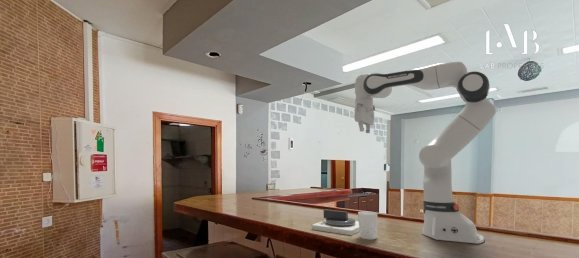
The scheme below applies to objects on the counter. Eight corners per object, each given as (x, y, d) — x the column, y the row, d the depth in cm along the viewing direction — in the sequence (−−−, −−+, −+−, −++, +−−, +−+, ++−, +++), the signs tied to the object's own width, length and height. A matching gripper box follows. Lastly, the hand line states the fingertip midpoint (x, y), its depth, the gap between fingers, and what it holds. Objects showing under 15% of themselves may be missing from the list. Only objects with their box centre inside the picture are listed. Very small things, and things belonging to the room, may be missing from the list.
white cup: (379, 236, 119) (378, 212, 120) (377, 240, 112) (376, 215, 113) (360, 234, 122) (359, 210, 123) (357, 238, 115) (356, 213, 116)
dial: (359, 222, 136) (359, 210, 137) (347, 227, 125) (347, 215, 125) (331, 218, 145) (331, 207, 146) (317, 223, 134) (317, 211, 134)
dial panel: (368, 226, 136) (368, 222, 137) (351, 235, 120) (351, 230, 121) (331, 221, 148) (331, 217, 148) (311, 229, 132) (311, 224, 132)
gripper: (363, 101, 135) (364, 129, 133) (375, 108, 152) (376, 133, 150) (350, 102, 138) (351, 130, 137) (364, 109, 155) (365, 134, 154)
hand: (364, 132), depth 144 cm, fingers open, 8 cm apart
